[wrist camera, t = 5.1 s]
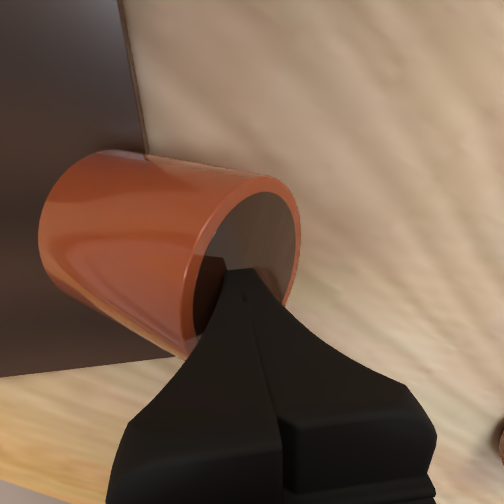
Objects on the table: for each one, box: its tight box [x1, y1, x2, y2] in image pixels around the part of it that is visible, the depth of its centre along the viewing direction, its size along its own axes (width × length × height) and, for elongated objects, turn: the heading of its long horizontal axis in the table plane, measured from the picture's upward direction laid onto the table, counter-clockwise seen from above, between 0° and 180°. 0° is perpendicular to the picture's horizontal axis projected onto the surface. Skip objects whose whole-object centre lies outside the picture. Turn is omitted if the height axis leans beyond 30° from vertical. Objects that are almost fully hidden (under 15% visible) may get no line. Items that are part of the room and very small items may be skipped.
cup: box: [38, 149, 301, 361], centre depth 15 cm, size 8×7×7 cm
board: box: [0, 0, 176, 378], centre depth 19 cm, size 20×14×1 cm
